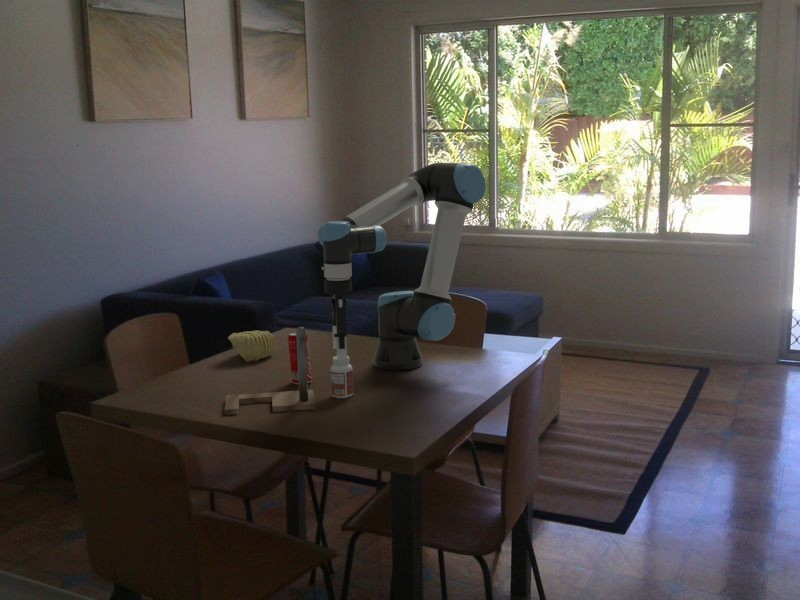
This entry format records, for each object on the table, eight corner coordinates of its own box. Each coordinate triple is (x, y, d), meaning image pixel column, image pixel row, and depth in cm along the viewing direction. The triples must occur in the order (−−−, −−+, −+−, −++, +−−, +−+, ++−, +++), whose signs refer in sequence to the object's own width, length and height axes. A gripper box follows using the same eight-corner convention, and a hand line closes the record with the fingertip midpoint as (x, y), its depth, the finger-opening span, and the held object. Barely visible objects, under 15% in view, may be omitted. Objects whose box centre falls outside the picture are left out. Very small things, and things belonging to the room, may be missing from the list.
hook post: (308, 404, 244) (304, 321, 240) (309, 413, 237) (305, 328, 232) (299, 404, 244) (295, 322, 240) (300, 413, 236) (296, 328, 232)
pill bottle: (348, 391, 255) (347, 353, 253) (357, 396, 250) (355, 358, 248) (328, 394, 253) (326, 356, 251) (336, 400, 247) (334, 361, 245)
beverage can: (308, 385, 262) (306, 335, 259) (287, 384, 263) (284, 335, 260) (314, 379, 267) (312, 330, 265) (293, 379, 269) (291, 330, 266)
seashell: (283, 363, 297) (256, 346, 307) (286, 333, 294) (258, 317, 303) (241, 373, 286) (214, 356, 295) (244, 342, 282) (217, 326, 291)
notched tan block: (313, 394, 253) (313, 389, 252) (316, 408, 240) (315, 403, 240) (226, 400, 249) (226, 395, 249) (224, 415, 237) (224, 409, 236)
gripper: (321, 272, 256) (323, 344, 260) (327, 286, 232) (329, 365, 236) (347, 271, 258) (349, 343, 261) (356, 285, 233) (357, 364, 237)
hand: (339, 354), depth 249 cm, fingers open, 13 cm apart
